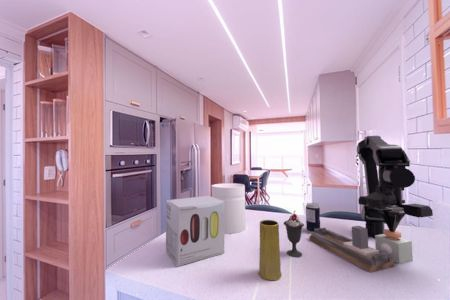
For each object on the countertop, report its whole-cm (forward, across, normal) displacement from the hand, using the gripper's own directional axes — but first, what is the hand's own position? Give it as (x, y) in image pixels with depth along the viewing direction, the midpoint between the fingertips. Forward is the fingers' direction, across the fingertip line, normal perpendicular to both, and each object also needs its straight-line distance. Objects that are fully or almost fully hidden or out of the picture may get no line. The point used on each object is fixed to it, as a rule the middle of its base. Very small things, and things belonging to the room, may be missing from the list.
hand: (392, 231), depth 65 cm
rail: (+8, -8, -11) cm, 16 cm away
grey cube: (+8, 0, 0) cm, 8 cm away
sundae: (+8, -12, -29) cm, 32 cm away
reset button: (+4, 0, 0) cm, 4 cm away
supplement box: (+8, -24, -61) cm, 66 cm away
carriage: (+6, -2, -11) cm, 13 cm away
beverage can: (+8, -27, -8) cm, 29 cm away
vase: (+8, -4, -43) cm, 44 cm away
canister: (+8, -44, -42) cm, 61 cm away
